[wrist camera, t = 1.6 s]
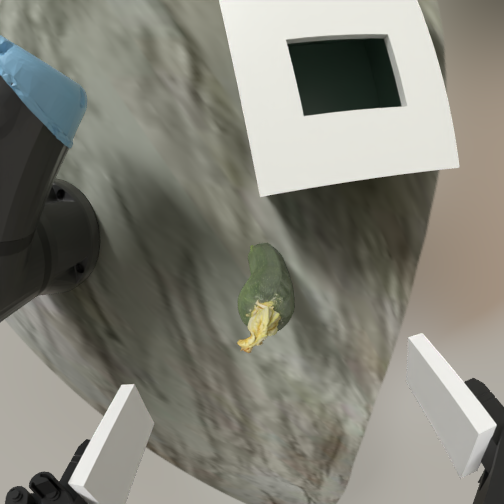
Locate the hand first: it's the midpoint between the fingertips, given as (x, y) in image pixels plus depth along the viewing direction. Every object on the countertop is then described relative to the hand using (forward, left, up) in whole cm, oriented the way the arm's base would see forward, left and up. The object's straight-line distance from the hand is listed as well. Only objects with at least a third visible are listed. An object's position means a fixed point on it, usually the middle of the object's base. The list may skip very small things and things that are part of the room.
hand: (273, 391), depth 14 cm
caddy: (+9, +16, -25) cm, 30 cm away
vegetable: (0, 0, -25) cm, 25 cm away
